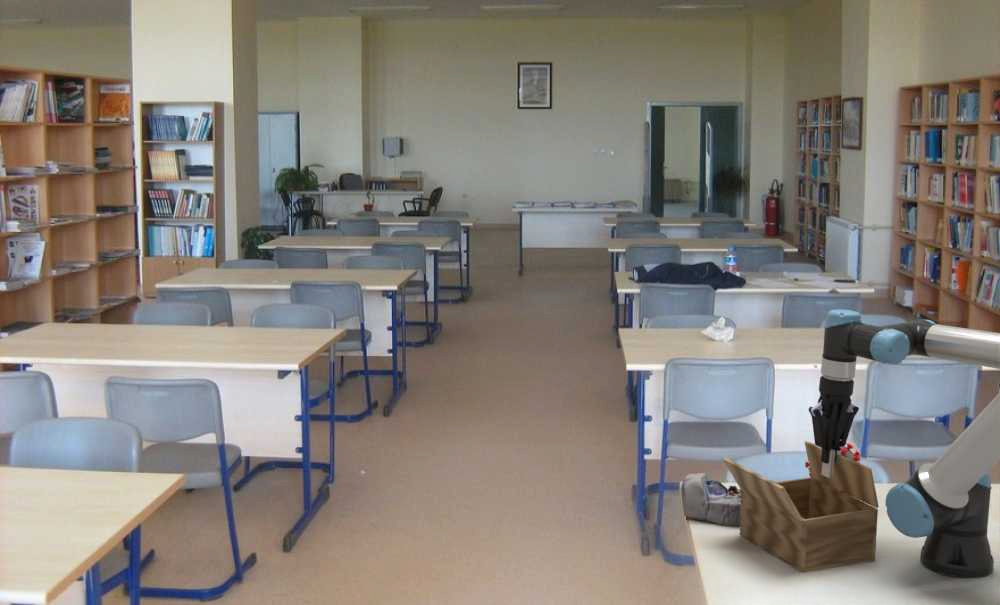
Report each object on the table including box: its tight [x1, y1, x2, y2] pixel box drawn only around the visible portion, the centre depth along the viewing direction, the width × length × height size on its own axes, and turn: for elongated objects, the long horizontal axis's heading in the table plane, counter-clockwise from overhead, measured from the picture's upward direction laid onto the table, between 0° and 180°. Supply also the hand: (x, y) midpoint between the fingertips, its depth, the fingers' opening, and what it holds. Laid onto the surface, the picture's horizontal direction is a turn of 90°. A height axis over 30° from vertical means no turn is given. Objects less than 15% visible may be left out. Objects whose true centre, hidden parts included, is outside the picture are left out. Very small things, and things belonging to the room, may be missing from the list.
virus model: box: [804, 442, 861, 493], centre depth 291 cm, size 14×15×15 cm
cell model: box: [680, 472, 741, 527], centre depth 274 cm, size 13×11×20 cm
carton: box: [739, 476, 879, 574], centre depth 255 cm, size 24×20×12 cm
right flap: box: [804, 440, 880, 509], centre depth 257 cm, size 23×10×1 cm
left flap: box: [721, 456, 803, 521], centre depth 249 cm, size 23×10×1 cm
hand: (826, 476), depth 255 cm, fingers closed
